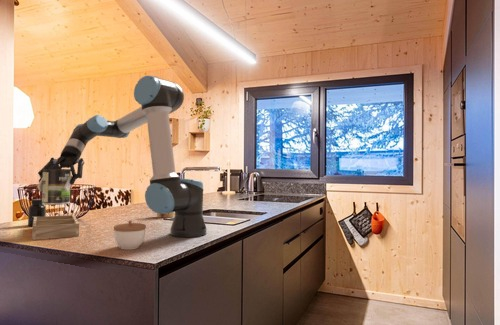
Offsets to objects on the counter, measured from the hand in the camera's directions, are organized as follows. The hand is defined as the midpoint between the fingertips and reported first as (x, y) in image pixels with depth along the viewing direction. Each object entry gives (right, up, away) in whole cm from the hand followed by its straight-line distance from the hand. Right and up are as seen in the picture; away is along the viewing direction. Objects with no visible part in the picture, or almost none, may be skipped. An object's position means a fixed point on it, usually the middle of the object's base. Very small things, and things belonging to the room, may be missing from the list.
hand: (52, 189), depth 143 cm
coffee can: (0, -6, +3) cm, 7 cm away
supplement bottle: (-20, -19, +22) cm, 35 cm away
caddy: (-3, -19, +8) cm, 20 cm away
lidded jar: (+37, -19, -17) cm, 45 cm away
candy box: (+32, -19, +55) cm, 66 cm away
